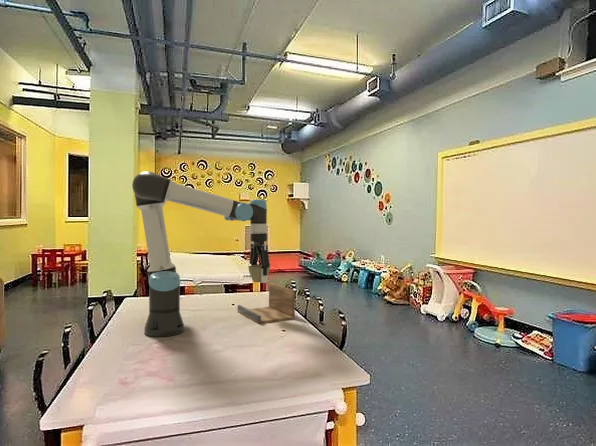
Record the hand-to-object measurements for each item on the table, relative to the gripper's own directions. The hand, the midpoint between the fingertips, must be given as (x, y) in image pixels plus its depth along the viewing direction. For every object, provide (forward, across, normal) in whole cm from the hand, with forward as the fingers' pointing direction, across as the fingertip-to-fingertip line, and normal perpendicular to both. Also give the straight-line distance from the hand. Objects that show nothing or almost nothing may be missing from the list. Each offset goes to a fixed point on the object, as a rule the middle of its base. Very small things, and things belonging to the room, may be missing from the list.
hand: (259, 280), depth 192 cm
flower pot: (0, 0, 0) cm, 0 cm away
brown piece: (+17, 0, -3) cm, 17 cm away
